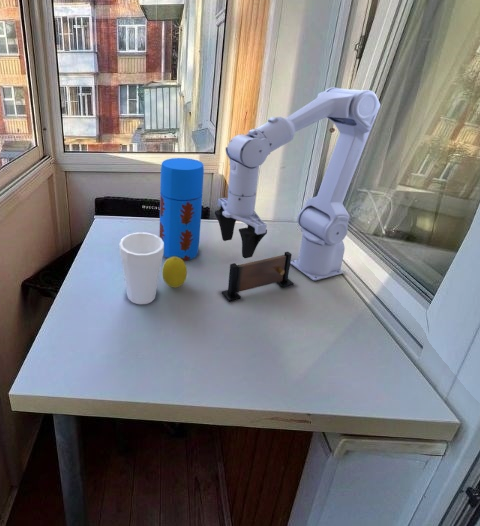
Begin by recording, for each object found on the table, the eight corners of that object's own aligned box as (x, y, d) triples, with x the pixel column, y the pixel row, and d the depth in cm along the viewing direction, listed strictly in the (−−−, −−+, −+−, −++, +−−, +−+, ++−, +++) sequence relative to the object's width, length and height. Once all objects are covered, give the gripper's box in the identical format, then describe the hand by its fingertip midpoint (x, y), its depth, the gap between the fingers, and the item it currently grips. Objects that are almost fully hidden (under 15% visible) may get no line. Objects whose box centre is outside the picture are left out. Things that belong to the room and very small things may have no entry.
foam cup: (168, 288, 76) (170, 237, 72) (153, 314, 68) (154, 259, 64) (131, 277, 80) (130, 229, 76) (112, 301, 72) (111, 248, 68)
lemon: (185, 296, 73) (186, 265, 71) (160, 293, 74) (161, 262, 72) (186, 281, 79) (188, 251, 76) (163, 278, 80) (164, 249, 77)
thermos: (166, 263, 85) (169, 171, 78) (154, 242, 95) (155, 159, 88) (205, 258, 88) (211, 168, 80) (189, 238, 98) (194, 156, 90)
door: (279, 278, 78) (283, 254, 76) (285, 283, 76) (289, 258, 74) (233, 290, 74) (236, 265, 72) (238, 295, 72) (241, 269, 70)
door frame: (284, 277, 80) (288, 248, 77) (293, 285, 77) (298, 255, 75) (221, 293, 74) (224, 262, 72) (229, 302, 72) (232, 270, 69)
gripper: (207, 182, 76) (204, 235, 80) (247, 207, 63) (241, 269, 67) (234, 179, 78) (229, 230, 82) (278, 202, 65) (270, 262, 69)
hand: (236, 247), depth 75 cm, fingers open, 7 cm apart
